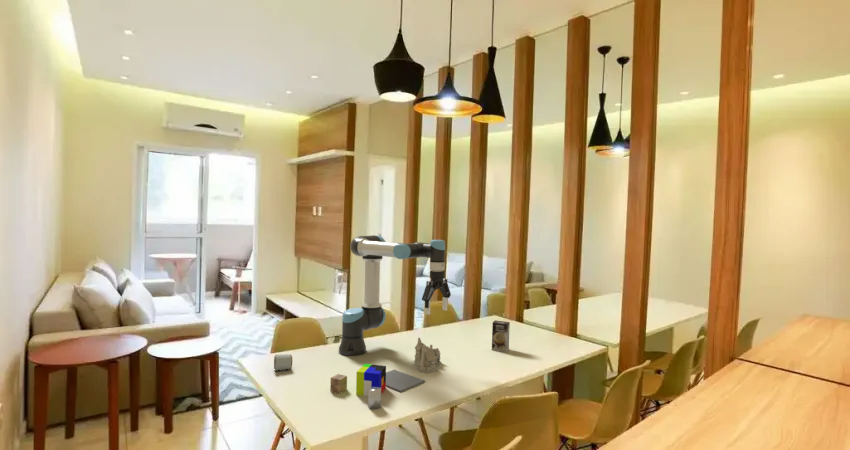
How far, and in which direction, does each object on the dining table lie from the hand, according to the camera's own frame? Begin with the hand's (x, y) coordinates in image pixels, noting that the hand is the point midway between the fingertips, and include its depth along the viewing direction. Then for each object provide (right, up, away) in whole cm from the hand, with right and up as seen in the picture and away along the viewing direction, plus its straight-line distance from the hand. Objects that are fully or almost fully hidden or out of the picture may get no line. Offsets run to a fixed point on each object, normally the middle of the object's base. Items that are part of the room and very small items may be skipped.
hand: (436, 312), depth 214 cm
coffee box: (+38, -28, +32) cm, 57 cm away
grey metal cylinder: (-26, -28, -45) cm, 59 cm away
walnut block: (-43, -28, -30) cm, 60 cm away
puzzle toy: (-29, -28, -31) cm, 51 cm away
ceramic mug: (-76, -27, -6) cm, 81 cm away
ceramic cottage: (-4, -28, +2) cm, 28 cm away
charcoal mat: (-19, -28, -19) cm, 38 cm away
